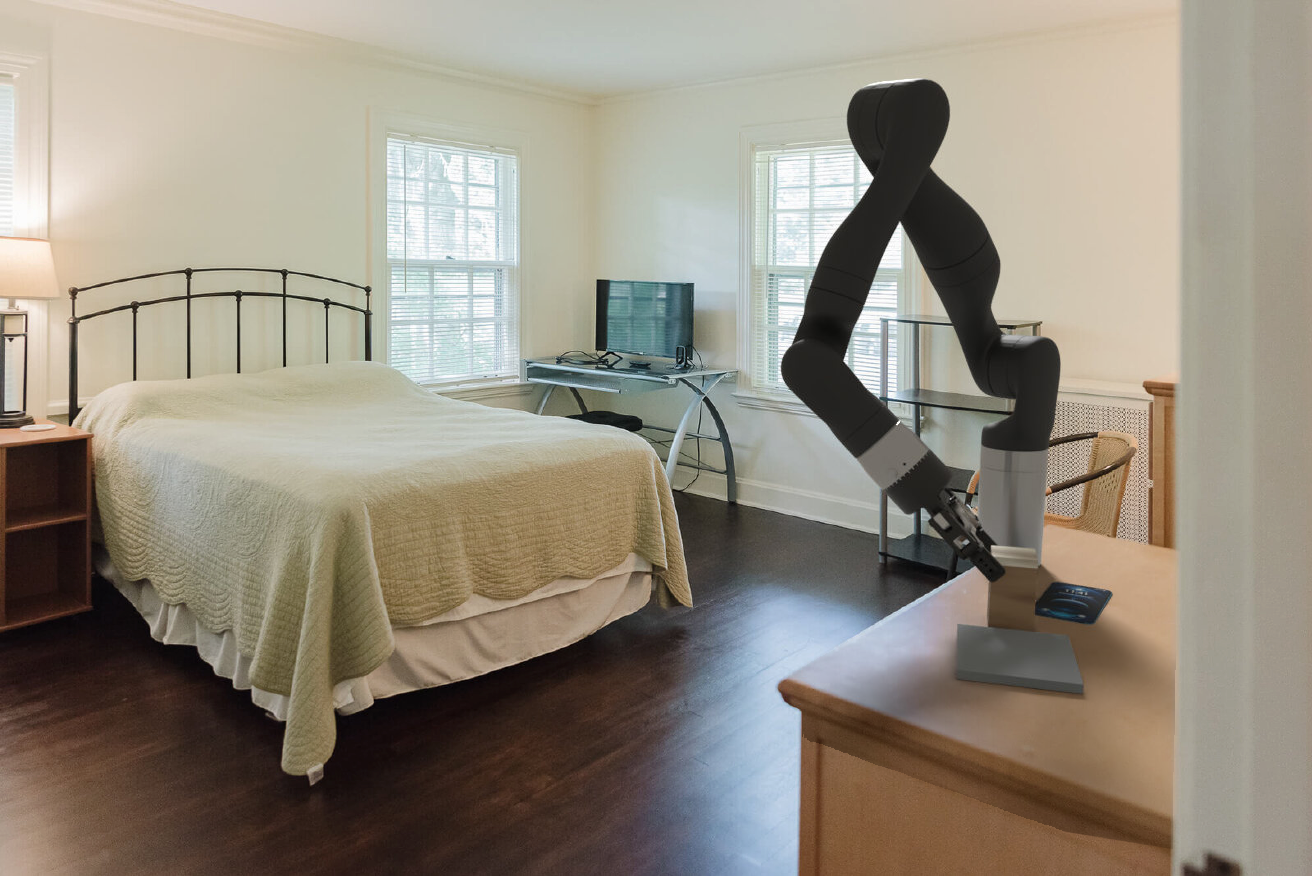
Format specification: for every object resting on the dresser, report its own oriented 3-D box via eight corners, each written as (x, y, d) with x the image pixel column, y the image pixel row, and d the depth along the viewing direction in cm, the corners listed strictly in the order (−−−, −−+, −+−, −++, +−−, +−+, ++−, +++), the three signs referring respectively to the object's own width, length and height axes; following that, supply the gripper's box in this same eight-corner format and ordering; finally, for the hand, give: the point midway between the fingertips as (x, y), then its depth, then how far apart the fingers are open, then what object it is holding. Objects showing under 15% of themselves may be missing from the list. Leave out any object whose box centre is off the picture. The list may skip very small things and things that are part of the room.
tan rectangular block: (986, 615, 115) (991, 545, 114) (1030, 620, 114) (1035, 548, 112) (988, 629, 111) (992, 556, 109) (1033, 634, 109) (1038, 560, 108)
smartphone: (1026, 612, 116) (1052, 580, 128) (1026, 617, 116) (1052, 584, 128) (1093, 624, 112) (1114, 590, 124) (1093, 629, 112) (1113, 594, 124)
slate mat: (957, 631, 110) (957, 623, 110) (1067, 643, 106) (1068, 635, 106) (956, 678, 97) (957, 669, 97) (1082, 694, 93) (1083, 684, 93)
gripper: (925, 456, 105) (1027, 564, 104) (929, 438, 119) (1020, 533, 117) (875, 499, 108) (974, 605, 106) (885, 476, 121) (973, 569, 119)
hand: (998, 567), depth 112 cm, fingers open, 8 cm apart
